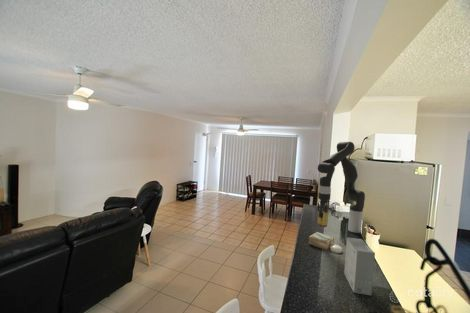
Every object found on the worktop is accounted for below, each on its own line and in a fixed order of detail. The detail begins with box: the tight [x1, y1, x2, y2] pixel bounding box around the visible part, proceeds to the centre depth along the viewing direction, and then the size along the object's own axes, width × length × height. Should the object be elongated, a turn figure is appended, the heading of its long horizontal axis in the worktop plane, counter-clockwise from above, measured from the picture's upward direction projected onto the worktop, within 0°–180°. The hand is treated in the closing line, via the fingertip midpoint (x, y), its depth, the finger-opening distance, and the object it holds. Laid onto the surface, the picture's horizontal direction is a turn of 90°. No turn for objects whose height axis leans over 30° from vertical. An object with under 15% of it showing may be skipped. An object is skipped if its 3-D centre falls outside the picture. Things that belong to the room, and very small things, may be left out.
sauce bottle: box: [317, 200, 330, 228], centre depth 144 cm, size 6×6×20 cm
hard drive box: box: [343, 237, 376, 296], centre depth 103 cm, size 16×8×20 cm, turn 168°
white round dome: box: [329, 244, 343, 254], centre depth 137 cm, size 7×7×2 cm
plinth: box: [308, 231, 335, 251], centre depth 145 cm, size 12×12×5 cm
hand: (323, 216), depth 144 cm, fingers closed on sauce bottle, 6 cm apart
